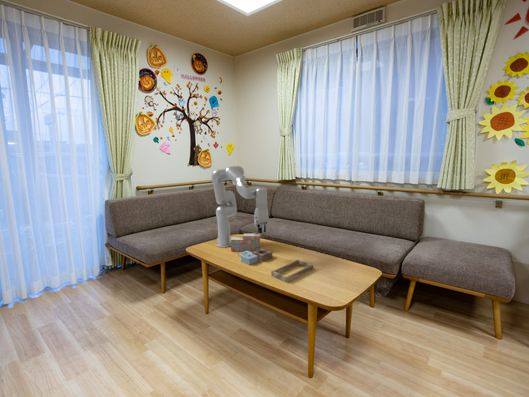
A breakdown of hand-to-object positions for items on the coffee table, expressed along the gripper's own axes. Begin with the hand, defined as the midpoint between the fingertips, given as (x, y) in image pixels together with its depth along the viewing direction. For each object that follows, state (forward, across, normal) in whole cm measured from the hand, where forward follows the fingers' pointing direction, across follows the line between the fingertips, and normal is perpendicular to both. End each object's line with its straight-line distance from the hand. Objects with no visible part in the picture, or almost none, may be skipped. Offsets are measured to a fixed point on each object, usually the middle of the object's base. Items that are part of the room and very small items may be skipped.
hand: (261, 232), depth 191 cm
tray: (+18, +6, -10) cm, 22 cm away
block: (+18, +11, -1) cm, 21 cm away
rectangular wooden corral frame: (+19, +4, +31) cm, 36 cm away
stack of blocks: (+19, -2, -20) cm, 27 cm away
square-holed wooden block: (+18, 0, 0) cm, 18 cm away
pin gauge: (+3, 0, 0) cm, 3 cm away
